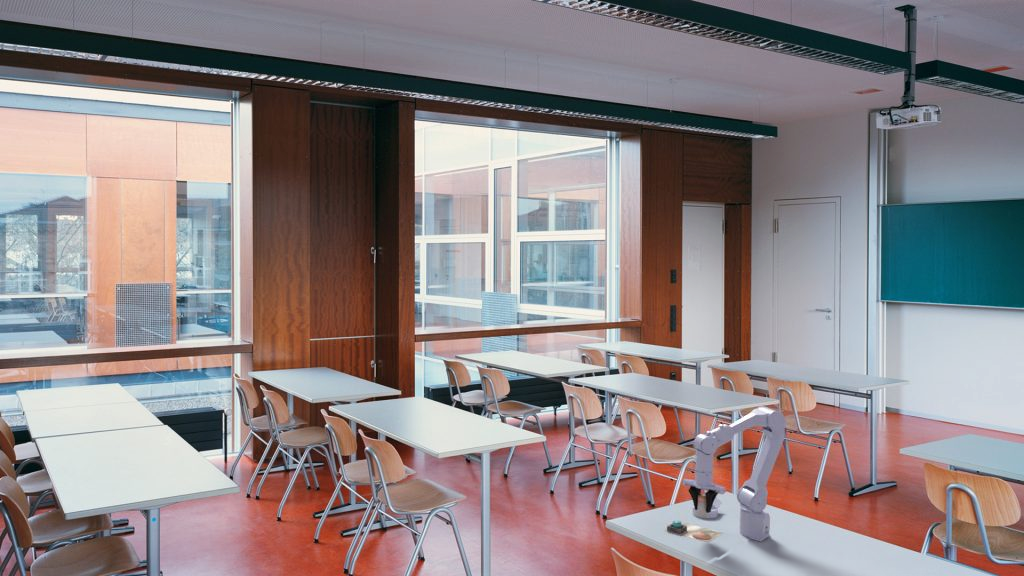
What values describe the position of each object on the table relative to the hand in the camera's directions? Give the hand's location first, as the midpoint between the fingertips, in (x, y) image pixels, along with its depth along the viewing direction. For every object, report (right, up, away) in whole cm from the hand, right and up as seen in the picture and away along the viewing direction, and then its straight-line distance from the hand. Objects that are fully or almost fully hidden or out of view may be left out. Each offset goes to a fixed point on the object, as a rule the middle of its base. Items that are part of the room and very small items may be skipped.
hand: (702, 510), depth 268 cm
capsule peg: (0, -2, 0) cm, 2 cm away
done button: (-7, -9, +6) cm, 13 cm away
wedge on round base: (+7, -9, +26) cm, 28 cm away
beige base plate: (-2, -9, +5) cm, 11 cm away
